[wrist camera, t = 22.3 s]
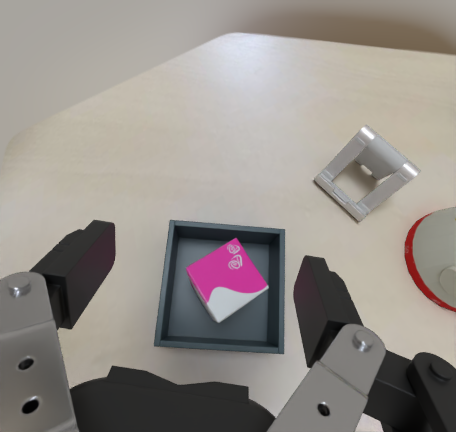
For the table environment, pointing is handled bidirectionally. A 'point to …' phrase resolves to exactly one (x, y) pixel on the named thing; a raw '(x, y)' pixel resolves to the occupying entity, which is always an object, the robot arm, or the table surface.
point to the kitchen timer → (434, 256)
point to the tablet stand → (376, 162)
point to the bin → (191, 305)
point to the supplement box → (225, 280)
